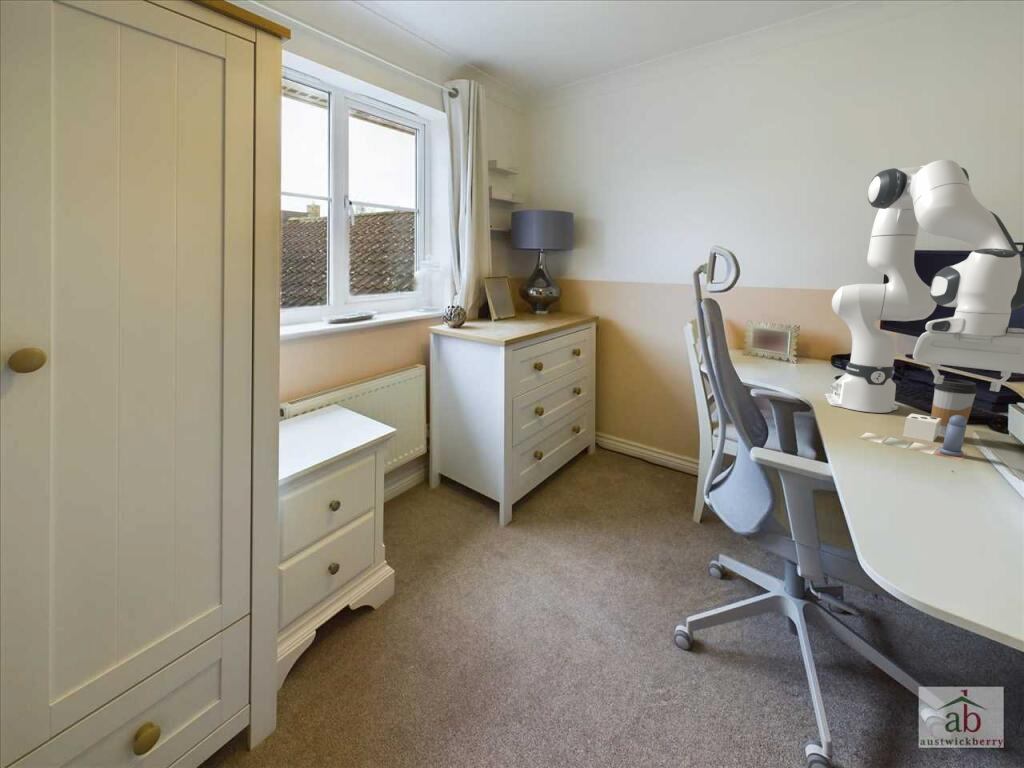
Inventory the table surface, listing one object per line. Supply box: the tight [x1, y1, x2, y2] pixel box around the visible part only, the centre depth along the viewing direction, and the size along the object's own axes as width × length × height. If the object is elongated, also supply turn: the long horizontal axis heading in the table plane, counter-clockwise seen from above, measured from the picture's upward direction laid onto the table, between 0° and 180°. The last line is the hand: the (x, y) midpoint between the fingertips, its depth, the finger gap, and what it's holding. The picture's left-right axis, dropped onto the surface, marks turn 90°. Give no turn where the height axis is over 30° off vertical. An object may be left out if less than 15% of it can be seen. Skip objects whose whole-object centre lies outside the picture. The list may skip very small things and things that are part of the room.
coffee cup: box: [930, 378, 978, 437], centre depth 127 cm, size 8×8×15 cm
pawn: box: [938, 415, 968, 457], centre depth 112 cm, size 4×4×9 cm
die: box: [902, 413, 941, 442], centre depth 125 cm, size 6×6×6 cm
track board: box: [858, 432, 967, 461], centre depth 118 cm, size 22×8×1 cm, turn 41°
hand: (965, 387), depth 109 cm, fingers open, 8 cm apart
